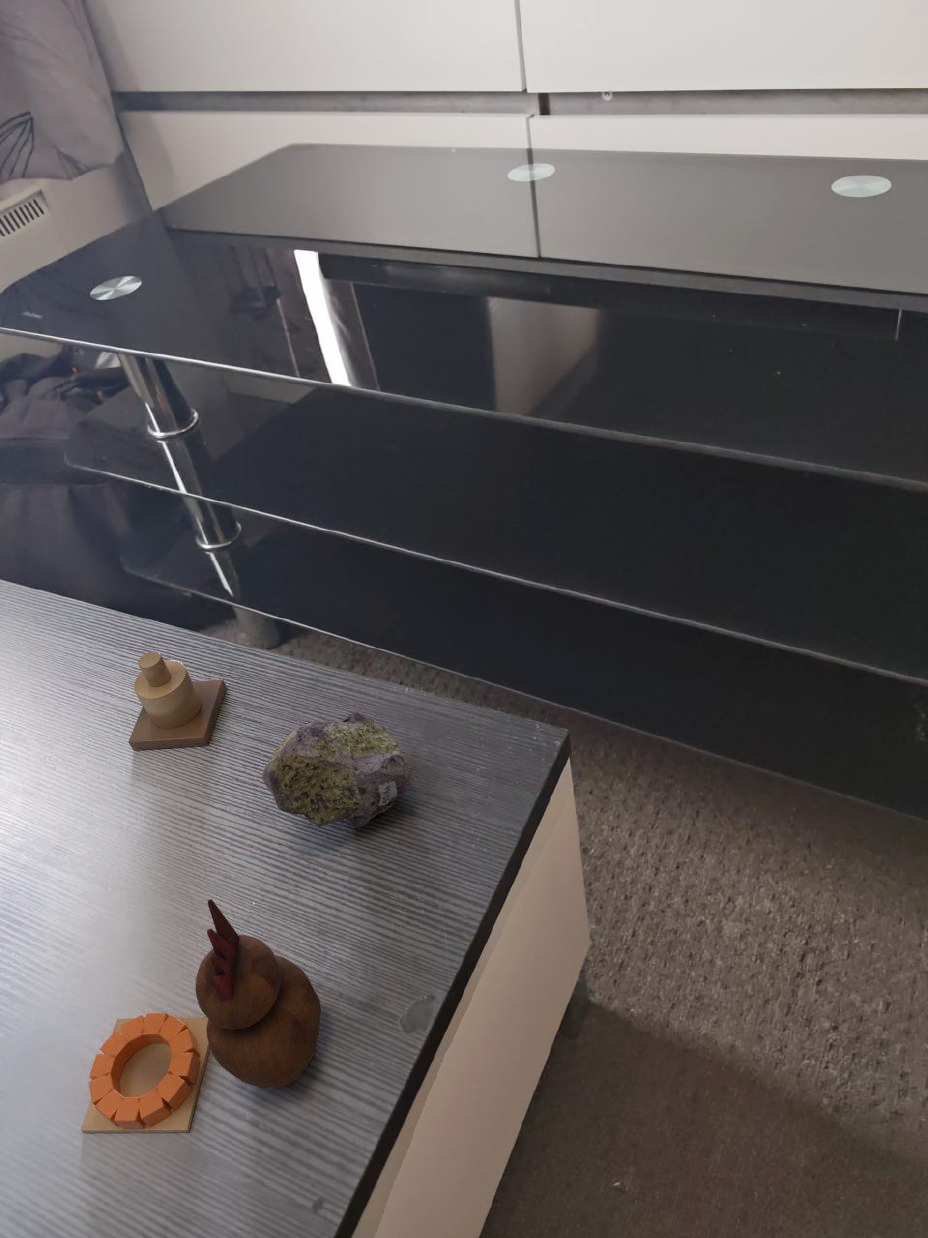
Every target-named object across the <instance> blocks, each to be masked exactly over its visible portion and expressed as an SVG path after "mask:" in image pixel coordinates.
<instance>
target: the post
mask: <svg viewBox="0 0 928 1238" xmlns="http://www.w3.org/2000/svg"><path fill="white" fill-rule="evenodd" d="M137 665H138V667H139V669H140V671H141V672H140V673H139V674H138V675H137V677H136V679H135V680H134V684H133V690H134V693H135V694H136V697H137V698H138V700H139V701H140V703H141V705H142V707H141V710H140V712H139V714H138V716H137V719H136V722H135V724H134V727H133V729H132V731H131V734H130V737H129V739H128V742H127V743H128V744H129V746H130V748H131V749H132V750H133V751H145V750H161V749H175V748H189V747H205V746H209V745H210V740H211V737H212V735H213V732H214V729H215V725H216V722H217V718H218V716H219V713H220V711H221V710H220V709H221V706H222V703H223V700H224V697H225V694H226V691H227V688H228V687H227V684H226V683H225V680H224V678H216V679H215V678H214V679H202V680H192V678H191V676H190V674H189V672H188V670H187V668H186V666H185V665H184V664H183V663H182V662H180V661H178V660H174V659H165V660H164V658H163V655H162V654H161V652H159V651H156V650H155V651H154V650H153V651H148V652H146V653H144V654H142V655H141V656H140V658H138V660H137Z"/></svg>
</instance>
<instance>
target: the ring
mask: <svg viewBox="0 0 928 1238" xmlns="http://www.w3.org/2000/svg"><path fill="white" fill-rule="evenodd" d="M176 1017H177V1016H175V1015H173V1014H170V1015H169V1014H168V1013H167V1012H149V1013H148V1012H147V1013H145V1017H144V1016H143V1015H142V1014H140V1015H138V1016H137V1017H134V1018H135V1019H133V1020H131V1021H129V1022H127V1023H125V1024H123V1025H121V1030H122V1034H121V1033H120V1032H119V1031H118V1030H115V1031H114V1033H113V1032H112V1033H113V1034H112V1033H111V1035H110V1036H109V1037H108V1038H107V1039H106V1041H104V1043H103V1044H102V1046H100V1048H99V1050H100V1051H101V1053H97V1054H96V1055H95V1058H94V1061H93V1064H92V1067H91V1070H90V1073H89V1078H90V1079H91V1080H90V1081H89V1082H88V1087H89V1093H90V1100H91V1099H92V1103H93V1104H94V1105H95V1108H96V1109H97V1110H98V1111H99V1112H100V1113H101V1114H102V1115H103V1116H105V1117H106V1118H107V1119H108V1120H109V1121H111V1122H112V1123H113V1124H114V1125H116V1126H117V1127H119V1126H120V1127H122V1128H123V1129H144V1127H145V1124H147V1125H148V1126H149V1127H151V1126H153V1125H154V1124H156V1123H158V1122H160V1121H161V1120H163V1119H165V1118H167V1117H168V1116H170V1115H171V1110H170V1106H171V1107H172V1108H173V1109H175V1110H177V1109H178V1108H179V1107H180V1105H181V1104H182V1103H183V1101H184V1100H185V1099H186V1097H187V1096H188V1095H189V1094H190V1092H191V1091H192V1089H191V1087H190V1086H189V1085H188V1084H195V1082H196V1078H197V1074H198V1070H199V1066H200V1060H199V1059H198V1057H199V1056H200V1052H199V1048H198V1044H197V1041H196V1038H195V1036H194V1035H193V1034H192V1032H191V1031H190V1029H189V1028H188V1027H187V1026H186V1024H184V1023H183V1022H182V1021H180V1020H179V1019H177V1018H176ZM150 1043H166V1044H168V1045H169V1046H170V1049H171V1053H172V1059H171V1063H170V1066H169V1070H168V1073H167V1074H166V1075H165V1076H164V1078H163V1079H162V1080H161V1082H160V1083H159V1084H158V1085H157V1087H156V1088H155V1089H153V1090H151V1091H149V1092H147V1093H146V1094H144V1095H142V1096H140V1097H124V1096H123V1095H122V1094H121V1089H120V1084H119V1080H120V1077H121V1074H122V1070H123V1067H124V1065H125V1064H126V1062H127V1061H128V1060H129V1059H130V1058H131V1056H132V1055H133V1054H134V1053H135V1052H136V1051H137V1050H139V1049H141V1048H143V1047H145V1046H146V1045H148V1044H150Z"/></svg>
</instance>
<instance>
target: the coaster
mask: <svg viewBox="0 0 928 1238" xmlns="http://www.w3.org/2000/svg"><path fill="white" fill-rule="evenodd" d="M175 1017H176V1018H177V1019H179V1020H180V1021H182V1022H183V1023H184V1024H186V1026H187V1027H188V1028H189V1029H190V1031H191V1032H192V1034H193V1035H194V1036H195V1038H196V1041H197V1044H198V1048H199V1052H200V1056H199V1057H198V1059H199V1060H200V1066H199V1070H198V1074H197V1078H196V1082H195V1084H188V1085H189V1086H190V1087H191V1089H192V1091H191V1092H190V1094H189V1095H188V1096H187V1097H186V1099H185V1100H184V1101H183V1103H182V1104H181V1105H180V1107H179V1108H178V1109H177V1110H175V1109H173V1108H172V1107H171V1106H170V1110H171V1115H170V1116H168V1117H167V1118H165V1119H163V1120H161V1121H160V1122H158V1123H156V1124H154V1125H153V1126H151V1127H149V1126H148V1125H147V1124H145V1127H144V1129H123V1128H122V1127H120V1126H119V1127H117V1126H116V1125H114V1124H113V1123H112V1122H111V1121H109V1120H108V1119H107V1118H106V1117H105V1116H103V1115H102V1114H101V1113H100V1112H99V1111H98V1110H97V1109H96V1108H95V1105H94V1104H93V1103H92V1099H91V1098H90V1100H89V1104H88V1107H87V1109H86V1112H85V1115H84V1119H83V1122H82V1125H81V1128H80V1132H82V1133H83V1134H93V1133H94V1134H96V1133H97V1134H99V1133H103V1134H108V1133H109V1134H111V1133H113V1134H114V1133H115V1134H116V1133H117V1134H118V1133H122V1134H123V1133H125V1134H128V1133H132V1134H133V1133H134V1134H135V1133H190V1130H191V1126H192V1121H193V1117H194V1115H195V1110H196V1106H197V1101H198V1098H199V1094H200V1089H201V1085H202V1080H203V1077H204V1073H205V1069H206V1065H207V1061H208V1056H209V1053H210V1050H211V1049H210V1045H209V1042H208V1039H207V1031H206V1028H207V1023H208V1018H207V1017H206V1016H175ZM135 1018H136V1017H126V1018H124V1017H123V1018H121V1017H120V1018H116V1021H115V1024H114V1027H113V1030H112V1032H111V1035H112V1034H113V1033H114V1031H115V1030H118V1031H119V1032H120V1033H121V1034H122V1030H121V1025H123V1024H125V1023H127V1022H129V1021H131V1020H133V1019H135ZM171 1059H172V1053H171V1049H170V1046H169V1045H168V1044H166V1043H150V1044H148V1045H146V1046H145V1047H143V1048H141V1049H139V1050H137V1051H136V1052H135V1053H134V1054H133V1055H132V1056H131V1058H130V1059H129V1060H128V1061H127V1062H126V1064H125V1065H124V1067H123V1070H122V1074H121V1077H120V1080H119V1084H120V1089H121V1094H122V1095H123V1096H124V1097H140V1096H142V1095H144V1094H146V1093H147V1092H149V1091H151V1090H153V1089H155V1088H156V1087H157V1085H158V1084H159V1083H160V1082H161V1080H162V1079H163V1078H164V1076H165V1075H166V1074H167V1073H168V1070H169V1066H170V1063H171Z"/></svg>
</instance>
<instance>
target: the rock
mask: <svg viewBox="0 0 928 1238" xmlns="http://www.w3.org/2000/svg"><path fill="white" fill-rule="evenodd" d="M260 778H261V779H262V782H263V783H264V785H265V787H266V788H267V789H268V790H269V792H270V793H271V795H272V797H273V799H274V801H275V804H276V806H277V808H278V809H279V810H280V811H282V812H284V813H288V814H292V815H295V816H300V815H301V816H304V817H305V818H306V819H307V820H308V821H309V823H310V824H312V825H314V826H317V827H319V828H320V827H324V826H326V825H330V824H332V823H333V824H334V823H337V822H340V821H344V820H345V819H346V820H347V821H348V823H349V824H350V825H351V826H353V827H354V828H358V829H360V828H362V827H364V826H367V825H368V823H370V821H371V820H372V819H373V818H375V817H376V816H377V815H380V814H382V813H384V812H386V811H388V810H389V809H390V808H392V807H393V805H394V803H395V801H396V799H397V797H400V796H402V795H403V794H404V793H405V792H406V789H407V786H408V782H409V780H410V774H409V769H408V767H407V764H406V762H405V759H404V755H403V754H402V752H401V751H400V749H399V741H398V740H397V739H396V738H394V736H392V735H391V734H390V733H389V732H388V729H386V728H385V726H383V725H380V724H378V723H377V722H376V721H375V719H374V718H370V717H369V718H368V717H366V716H365V715H361V713H359V712H358V711H356V712H352V713H351V714H348V715H347V716H346V717H345V718H344V719H342V720H340V721H339V720H338V721H337V720H324V722H321V721H317V720H313V721H312V722H309V723H305V724H304V725H300V726H298V727H296V728H295V729H293V731H292V732H291V733H287V735H286V736H285V738H284V739H283V740H282V742H281V743H280V744H279V746H276V748H275V750H274V751H273V753H272V756H271V757H270V758H269V759H268V761H267V764H266V765H265V766H264V767H263V771H262V774H261V775H260Z"/></svg>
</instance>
